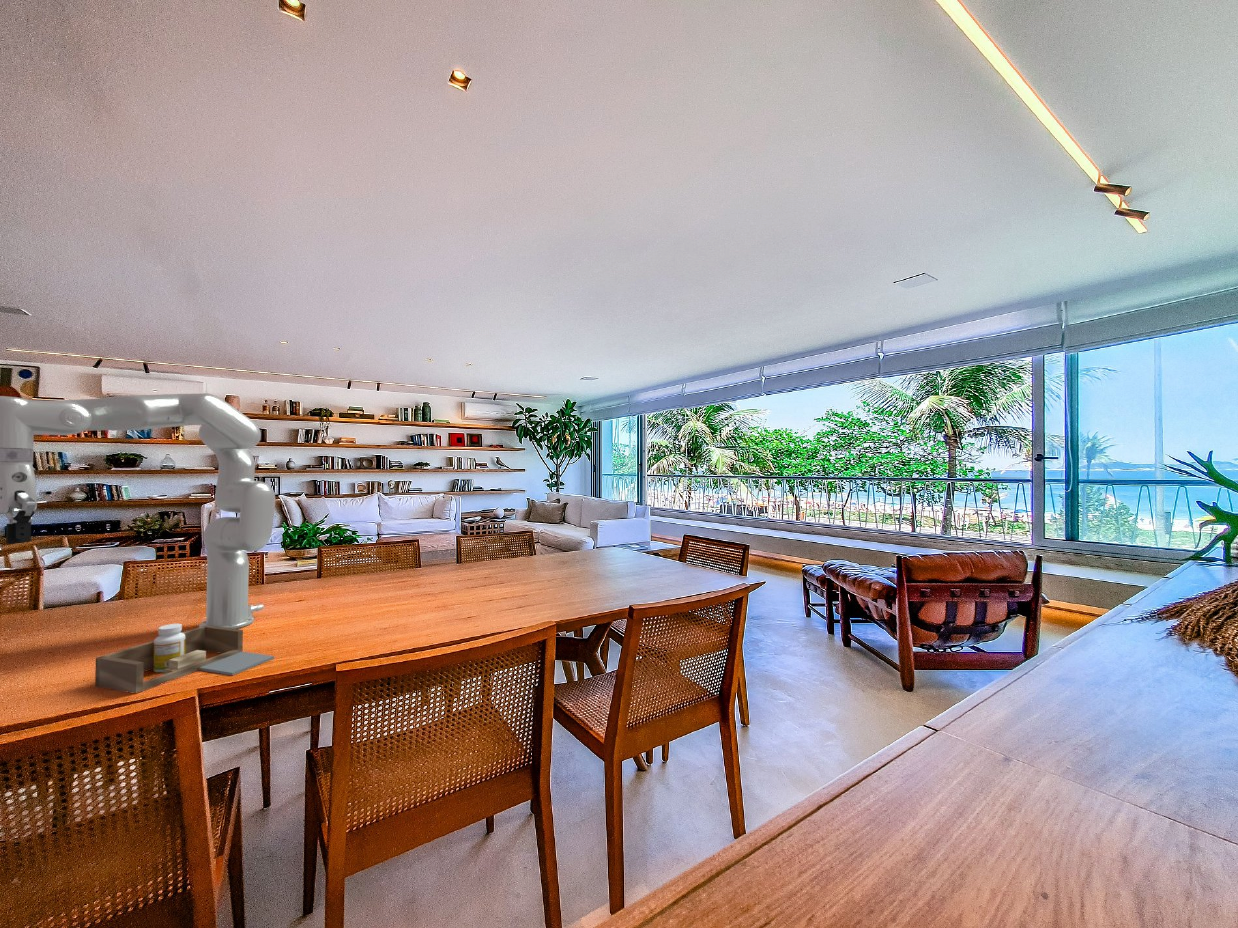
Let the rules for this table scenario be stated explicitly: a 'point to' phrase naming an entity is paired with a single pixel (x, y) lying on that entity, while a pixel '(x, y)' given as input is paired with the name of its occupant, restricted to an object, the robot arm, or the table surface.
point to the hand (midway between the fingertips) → (2, 541)
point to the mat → (236, 663)
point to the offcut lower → (176, 669)
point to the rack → (131, 663)
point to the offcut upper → (187, 659)
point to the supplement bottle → (168, 646)
